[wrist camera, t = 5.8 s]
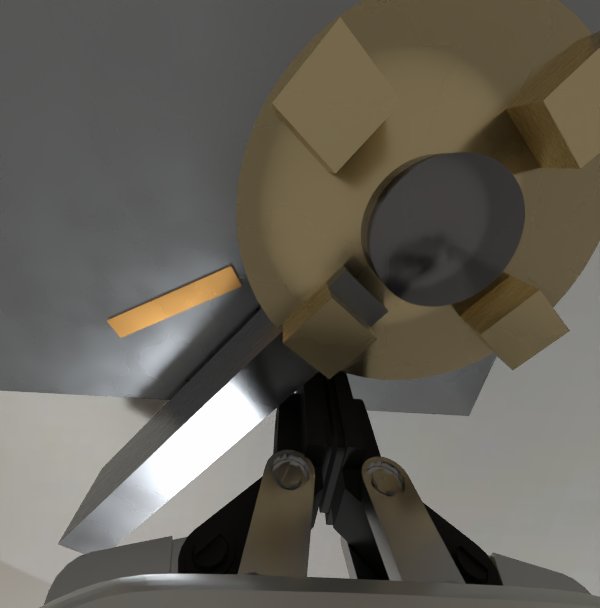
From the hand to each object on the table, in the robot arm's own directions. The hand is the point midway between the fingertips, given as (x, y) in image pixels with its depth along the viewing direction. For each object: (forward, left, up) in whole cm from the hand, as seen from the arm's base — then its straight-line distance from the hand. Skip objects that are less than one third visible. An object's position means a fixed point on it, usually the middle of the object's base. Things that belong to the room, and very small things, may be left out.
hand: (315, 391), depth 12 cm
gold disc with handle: (+2, -2, -1) cm, 3 cm away
